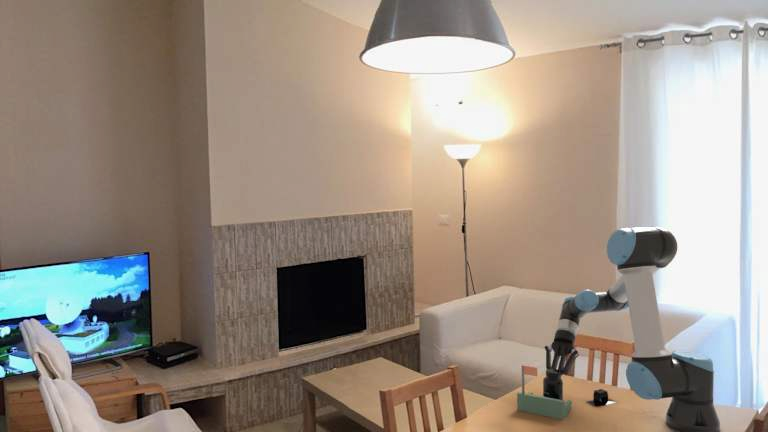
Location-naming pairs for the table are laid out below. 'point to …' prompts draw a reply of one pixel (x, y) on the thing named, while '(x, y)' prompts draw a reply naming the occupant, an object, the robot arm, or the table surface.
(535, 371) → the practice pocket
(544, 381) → the supplement bottle
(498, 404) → the table surface
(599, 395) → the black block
